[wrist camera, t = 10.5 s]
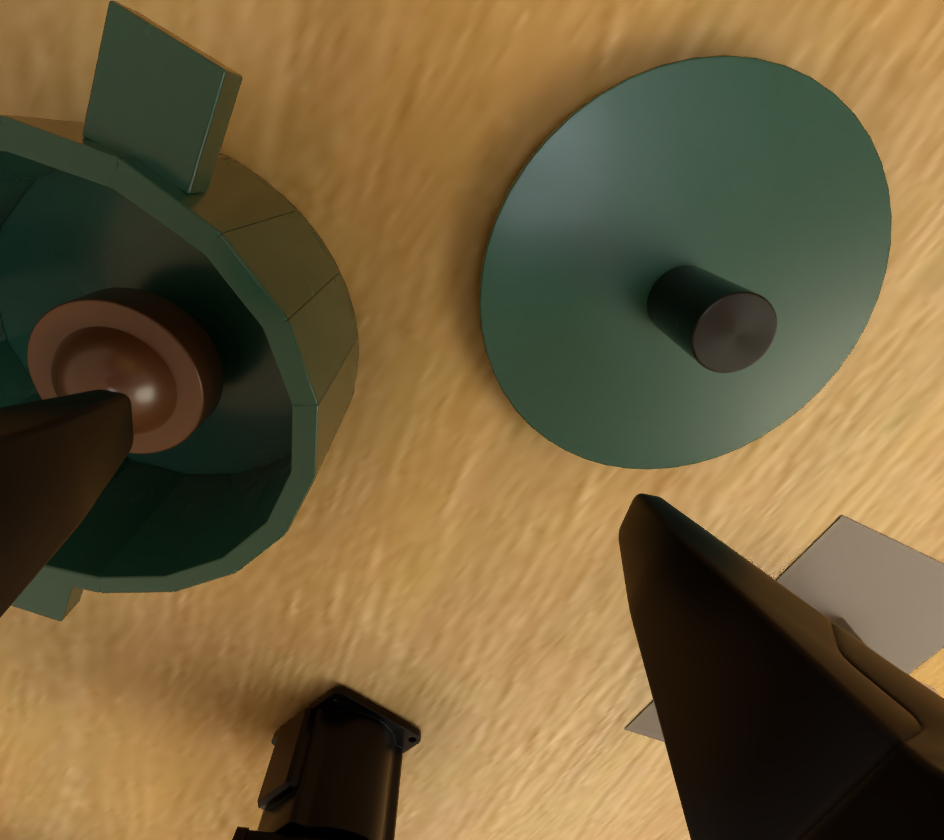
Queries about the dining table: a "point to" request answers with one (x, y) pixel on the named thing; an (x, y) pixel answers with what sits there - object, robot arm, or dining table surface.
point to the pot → (192, 289)
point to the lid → (685, 262)
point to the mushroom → (130, 361)
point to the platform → (864, 598)
